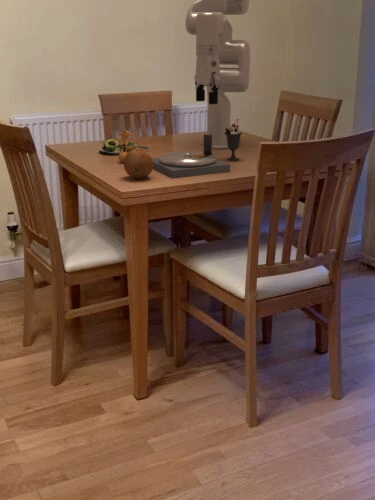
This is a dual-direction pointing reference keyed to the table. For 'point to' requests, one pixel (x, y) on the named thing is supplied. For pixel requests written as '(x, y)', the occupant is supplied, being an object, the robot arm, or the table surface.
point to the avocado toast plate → (117, 147)
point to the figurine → (125, 135)
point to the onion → (138, 163)
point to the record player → (190, 156)
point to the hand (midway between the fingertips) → (206, 102)
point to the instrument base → (190, 169)
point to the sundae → (233, 140)
